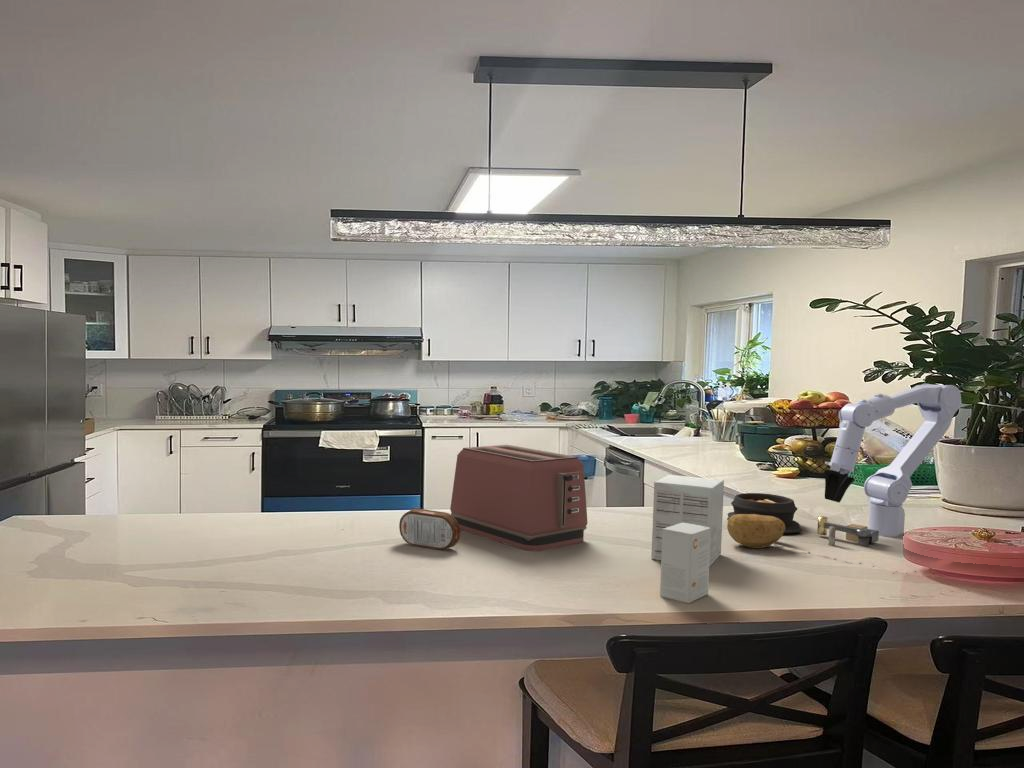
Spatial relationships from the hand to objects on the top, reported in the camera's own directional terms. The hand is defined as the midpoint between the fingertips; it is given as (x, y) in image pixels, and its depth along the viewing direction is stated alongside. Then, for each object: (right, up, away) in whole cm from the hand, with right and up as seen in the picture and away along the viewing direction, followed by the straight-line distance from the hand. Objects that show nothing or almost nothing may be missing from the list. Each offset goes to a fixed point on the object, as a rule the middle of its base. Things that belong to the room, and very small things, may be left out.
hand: (832, 500), depth 201 cm
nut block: (+4, -9, -5) cm, 11 cm away
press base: (+1, -10, -7) cm, 12 cm away
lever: (+2, -9, -5) cm, 10 cm away
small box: (-49, -11, -50) cm, 71 cm away
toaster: (-80, -8, -4) cm, 80 cm away
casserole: (-14, -9, +11) cm, 20 cm away
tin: (-101, -8, -20) cm, 103 cm away
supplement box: (-42, -10, -22) cm, 48 cm away
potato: (-23, -10, -10) cm, 27 cm away
